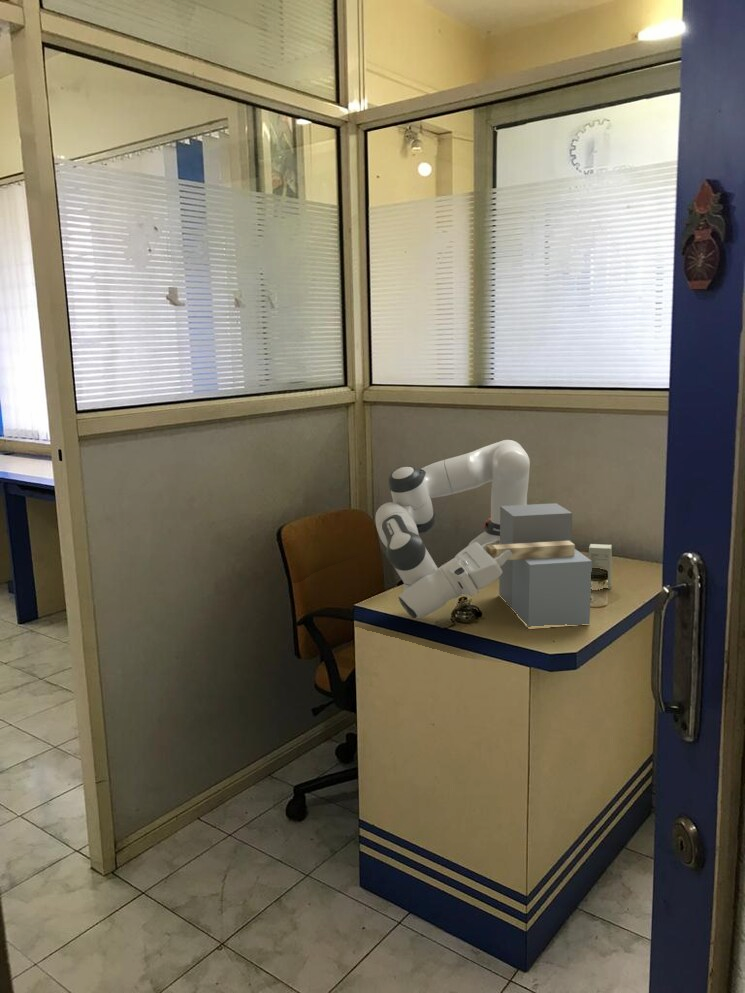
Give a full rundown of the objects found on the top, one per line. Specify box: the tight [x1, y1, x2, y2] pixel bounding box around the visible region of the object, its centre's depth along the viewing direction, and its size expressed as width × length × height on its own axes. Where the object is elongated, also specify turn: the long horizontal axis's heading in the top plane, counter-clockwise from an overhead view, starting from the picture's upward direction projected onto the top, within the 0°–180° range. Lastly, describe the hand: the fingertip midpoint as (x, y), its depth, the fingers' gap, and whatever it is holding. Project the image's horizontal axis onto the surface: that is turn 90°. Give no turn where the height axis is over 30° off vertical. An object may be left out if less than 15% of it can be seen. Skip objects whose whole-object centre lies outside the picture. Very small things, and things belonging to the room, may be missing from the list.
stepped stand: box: [498, 502, 592, 627], centre depth 217 cm, size 16×26×26 cm, turn 8°
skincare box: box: [588, 543, 613, 590], centre depth 236 cm, size 6×4×12 cm
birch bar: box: [486, 541, 576, 560], centre depth 209 cm, size 22×4×3 cm, turn 98°
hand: (505, 546), depth 208 cm, fingers open, 8 cm apart
